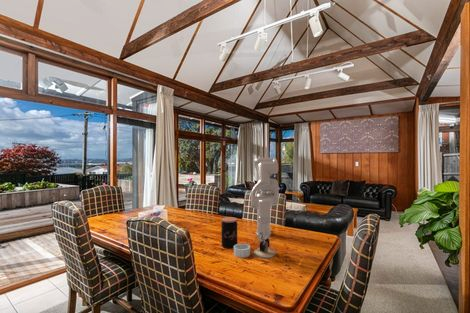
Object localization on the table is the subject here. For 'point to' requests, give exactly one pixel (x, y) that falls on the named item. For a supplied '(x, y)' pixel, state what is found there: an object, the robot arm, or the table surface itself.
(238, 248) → the bowl
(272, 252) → the lid
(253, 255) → the mat
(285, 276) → the table surface
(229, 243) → the coffee jar
